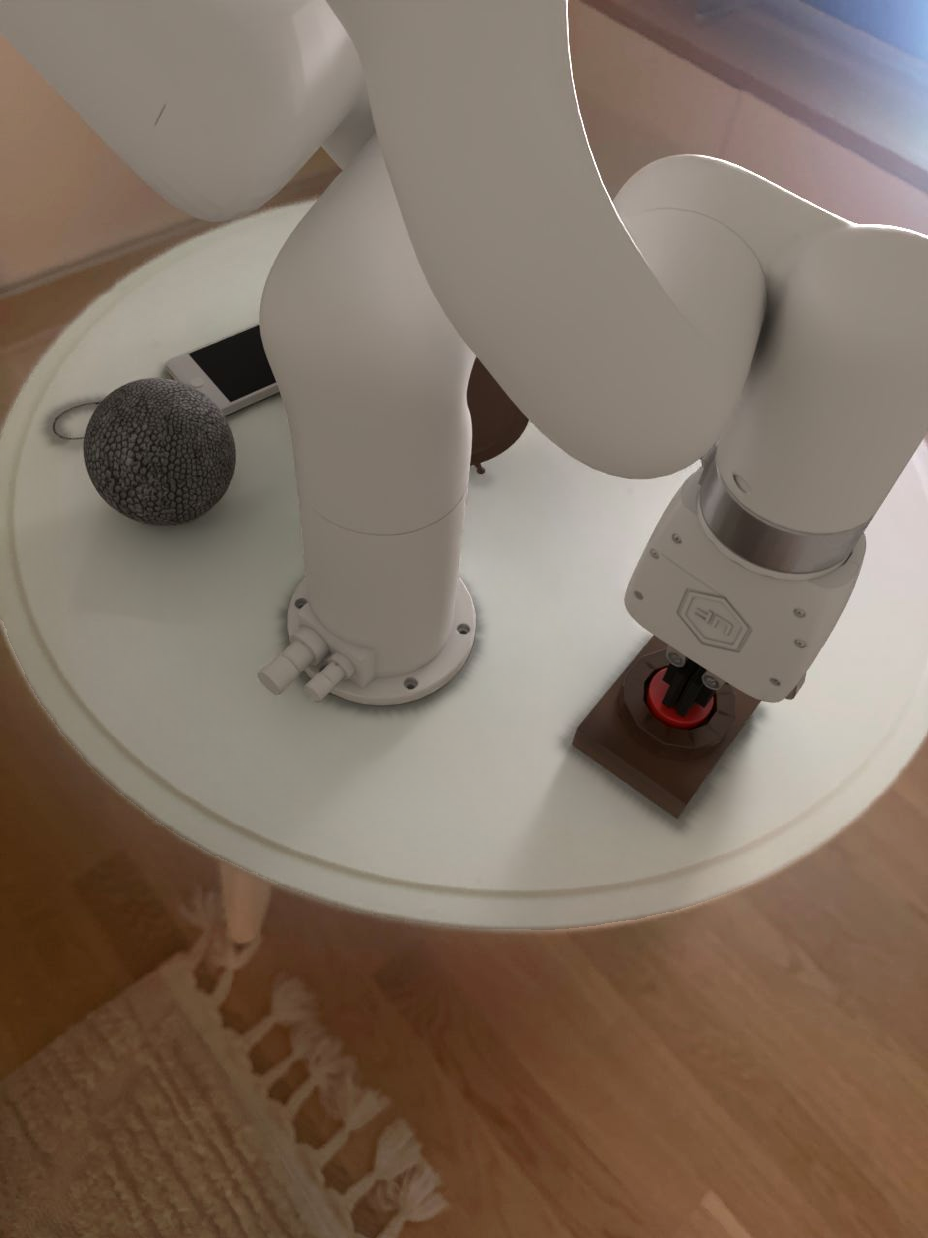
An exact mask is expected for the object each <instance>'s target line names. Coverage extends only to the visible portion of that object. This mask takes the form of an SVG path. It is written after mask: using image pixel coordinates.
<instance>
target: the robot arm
mask: <svg viewBox="0 0 928 1238" xmlns="http://www.w3.org/2000/svg"><path fill="white" fill-rule="evenodd" d="M568 3H569V0H0V35H1V36H2V37H3V38H4V39H5V40H6V41H7V42H8V43H9V44H10V45H11V46H12V48H14V49H15V51H16V52H17V53H19V55H21V56H22V58H23V59H24V60H25V61H26V62H27V63H28V64H29V65H30V66H31V67H32V68H33V69H34V70H35V72H37V73H38V74H39V76H40V77H42V78H43V79H44V81H45V82H46V83H47V84H48V85H49V86H50V87H51V88H52V89H53V90H54V91H55V92H56V93H57V95H59V96H60V97H61V98H62V99H63V101H65V102H66V104H68V106H69V107H70V108H71V109H72V110H73V111H74V112H75V113H76V114H77V115H78V116H79V117H80V118H81V119H82V120H83V122H84V123H86V124H87V126H88V127H89V128H91V130H92V131H93V132H94V133H95V134H96V135H97V136H98V137H99V138H100V139H101V141H102V142H103V143H105V145H107V146H108V148H109V149H111V150H112V152H113V153H115V155H116V156H117V157H118V158H119V159H120V160H121V161H122V162H123V163H124V164H125V165H126V166H127V167H128V168H129V169H130V170H131V171H132V172H134V174H135V175H137V176H138V178H140V179H141V180H142V182H143V183H145V185H147V186H148V187H149V188H151V190H153V191H154V192H155V193H156V194H157V195H159V197H161V198H162V199H163V200H164V201H166V202H167V203H168V204H169V205H171V206H173V207H174V209H175V208H176V209H177V210H179V211H181V212H183V213H184V214H185V215H188V216H190V217H192V218H195V219H198V220H202V221H206V222H211V223H220V222H229V221H234V220H238V219H240V218H243V217H245V216H247V215H249V214H251V213H253V212H254V211H257V210H259V209H260V208H261V207H262V206H264V205H265V204H266V203H267V202H269V201H270V200H272V198H274V197H275V196H277V195H278V194H279V193H280V191H281V190H282V189H283V188H285V186H287V184H289V183H290V181H291V180H292V179H293V178H294V177H296V175H297V174H298V173H299V172H300V170H301V169H302V168H303V167H304V166H306V164H307V163H308V161H309V160H310V159H311V158H312V157H313V156H314V155H315V154H316V152H317V151H318V150H320V148H322V149H323V150H324V151H325V153H326V154H327V155H328V156H329V157H330V158H331V160H332V161H334V163H335V164H336V165H337V167H339V168H340V169H341V172H339V173H338V175H336V177H334V179H333V180H332V181H331V182H330V183H329V184H328V186H327V187H326V188H325V189H324V191H323V192H322V193H321V195H320V196H319V197H318V198H317V200H316V201H315V202H314V203H313V204H312V206H310V208H309V210H308V211H307V212H306V213H305V214H304V216H303V217H302V218H301V219H300V221H298V223H297V225H296V226H295V228H293V230H292V231H291V233H290V234H289V236H287V239H286V240H285V242H284V243H283V245H282V246H281V248H280V250H279V251H278V254H277V256H276V258H275V259H274V262H273V264H272V265H271V267H270V269H269V272H268V274H267V277H266V280H265V283H264V285H263V289H262V293H261V298H260V303H259V312H258V316H259V317H258V323H259V325H260V334H261V339H262V343H263V347H264V351H265V353H266V356H267V359H268V362H269V364H270V367H271V370H272V372H273V375H274V377H275V380H276V382H277V385H278V388H279V391H280V392H279V393H280V396H281V399H282V403H283V407H284V411H285V415H286V420H287V426H288V429H289V436H290V443H291V452H292V460H293V470H294V478H295V483H296V489H297V490H296V492H297V502H298V511H299V521H300V530H301V541H302V550H303V560H304V568H305V575H304V577H302V579H301V580H300V582H298V584H297V585H296V588H295V590H294V592H293V594H292V596H291V598H290V601H289V605H288V610H287V634H288V640H289V645H288V646H287V647H286V648H285V649H284V650H283V651H282V652H280V653H278V654H277V655H276V656H274V657H273V658H272V659H271V660H270V661H269V662H268V663H267V664H266V665H265V666H263V667H262V668H261V669H260V670H259V671H258V672H257V673H256V674H257V679H258V680H259V682H260V683H261V684H262V685H263V687H264V688H265V689H266V690H268V691H269V692H270V693H271V694H273V695H275V696H280V695H281V694H282V693H283V692H284V691H285V690H286V689H288V688H289V687H290V686H291V685H292V684H293V683H295V681H296V680H297V679H298V678H300V675H301V673H303V672H304V673H305V674H306V675H307V676H308V677H309V678H310V680H309V681H308V682H307V683H306V684H305V685H304V686H303V689H304V692H305V693H306V695H307V697H309V698H310V699H311V700H313V701H314V702H316V703H320V702H322V701H323V699H324V698H325V697H327V696H328V695H329V693H330V694H332V695H335V696H337V697H339V698H342V699H344V700H346V701H350V702H354V703H358V704H362V705H371V706H391V705H401V704H405V703H410V702H413V701H417V700H420V699H423V698H424V697H427V696H428V695H431V694H433V693H435V692H437V691H438V690H440V689H441V688H442V687H444V686H445V685H446V684H448V683H449V682H450V681H451V680H452V679H454V677H455V676H456V675H457V674H458V673H459V672H460V671H461V669H462V668H463V666H464V665H465V663H466V661H467V660H468V658H469V656H470V653H471V650H472V648H473V645H474V642H475V635H476V630H477V629H476V628H477V625H476V624H477V623H476V621H477V620H476V619H477V618H476V615H477V614H476V609H475V605H474V601H473V598H472V596H471V594H470V592H469V590H468V587H467V586H466V584H465V583H464V581H462V579H461V577H460V576H459V572H460V562H461V554H462V547H463V546H462V544H463V536H464V528H465V520H466V519H465V518H466V509H467V502H468V491H469V482H470V481H469V480H470V468H471V466H470V460H471V449H472V423H471V416H470V412H469V409H468V406H467V387H468V381H469V378H470V374H471V370H472V367H473V364H474V361H475V358H476V356H477V358H478V359H479V360H480V361H481V363H482V364H483V365H484V366H485V368H486V369H487V370H488V371H489V373H490V374H491V375H492V376H493V378H494V379H495V380H496V381H497V383H498V384H499V385H500V386H501V388H502V389H503V390H504V391H505V393H506V394H507V395H508V396H509V398H510V399H511V400H512V401H513V402H514V404H515V405H516V406H517V407H518V408H519V409H520V411H521V412H522V413H523V414H524V415H525V416H526V417H527V418H528V419H529V422H531V423H532V424H533V426H535V428H537V430H538V431H539V433H541V434H542V435H543V436H545V437H546V438H547V439H548V440H549V441H550V442H551V443H552V444H553V445H555V446H557V447H558V448H559V449H560V450H562V451H563V452H564V453H566V454H567V455H568V456H570V457H571V458H573V459H574V460H576V461H578V462H580V463H582V464H583V465H585V466H587V467H588V468H590V469H593V470H595V471H598V472H601V473H604V474H606V475H609V476H612V477H616V478H617V477H618V478H622V479H628V480H652V479H657V478H663V477H668V476H671V475H673V474H675V473H678V472H681V471H683V470H685V469H687V468H688V467H690V466H692V465H694V463H696V462H698V461H699V460H700V461H701V462H700V463H701V466H700V467H699V468H698V469H696V471H694V472H693V473H692V474H690V475H689V476H688V478H686V479H685V481H684V482H683V483H682V484H681V485H680V486H679V488H678V490H677V491H676V492H675V494H674V495H673V496H672V498H671V500H670V501H669V503H668V505H667V506H666V508H665V509H664V511H663V512H662V515H661V517H660V518H659V520H658V522H657V524H656V526H655V528H654V529H653V531H652V533H651V535H650V537H649V539H648V541H647V542H646V545H645V547H644V550H642V551H643V552H642V553H641V555H640V558H639V560H638V561H637V563H636V566H635V567H634V570H633V572H632V574H631V577H630V579H629V582H628V584H627V587H626V589H625V594H624V598H623V599H624V600H623V601H624V602H623V603H624V607H625V609H626V612H627V613H628V615H629V616H631V618H632V620H634V621H635V622H636V623H637V624H638V625H640V626H641V627H642V628H643V629H644V630H646V631H647V632H649V633H650V634H651V635H652V636H653V635H655V636H656V637H658V638H659V639H661V640H662V641H664V642H665V643H667V645H668V647H667V652H666V657H667V660H668V661H669V662H670V664H669V666H668V668H667V670H666V672H665V675H664V677H663V679H662V680H663V681H664V682H666V683H667V684H669V685H670V686H669V688H668V690H667V692H666V694H665V696H664V698H663V701H662V704H663V705H665V706H666V707H668V708H669V707H672V708H673V707H674V706H675V704H676V703H677V702H678V700H679V699H680V700H679V702H678V704H677V706H676V708H675V710H676V711H677V712H676V713H677V714H678V715H680V716H681V717H683V718H684V717H685V715H686V714H687V713H688V711H689V710H690V709H691V707H692V706H693V705H694V703H695V702H696V703H697V704H699V705H700V706H702V707H703V708H705V707H706V705H707V704H708V703H709V701H710V700H711V699H712V697H713V696H714V694H715V693H716V691H717V690H719V689H720V688H721V687H722V686H723V685H724V684H730V685H732V686H734V687H735V688H737V689H738V690H740V691H742V692H744V693H745V694H747V695H749V696H751V697H753V698H756V699H758V700H761V701H762V702H765V703H774V704H775V703H780V702H782V701H784V700H787V701H790V700H791V701H792V700H794V699H795V697H796V695H797V694H799V691H800V690H801V689H802V687H803V686H804V684H805V682H806V676H807V672H808V670H809V669H810V668H811V667H812V665H813V664H814V662H815V660H816V658H817V657H818V655H819V653H820V652H821V650H822V649H823V647H824V646H825V644H826V643H827V641H828V639H829V637H831V634H832V633H833V631H834V629H835V628H836V626H837V624H838V622H839V620H840V618H841V617H842V614H843V612H844V610H845V609H846V606H847V604H848V602H849V600H850V599H851V595H852V594H853V591H854V589H855V587H856V584H857V581H858V578H859V576H860V573H861V570H862V567H863V564H864V559H865V555H866V550H867V536H866V534H865V532H866V530H867V528H868V527H869V525H870V523H871V522H872V520H873V519H874V517H875V515H876V514H877V513H878V511H879V509H880V508H881V506H882V505H883V503H884V501H885V500H886V499H887V497H888V495H889V494H890V492H891V491H892V489H893V488H894V486H895V484H896V483H897V481H898V479H899V478H900V476H901V475H902V474H903V471H904V470H905V468H906V467H907V465H908V464H909V463H910V461H911V459H912V458H913V456H914V454H915V453H916V451H917V450H918V448H919V446H920V445H921V443H922V442H923V441H924V439H925V437H926V435H927V434H928V235H925V234H923V233H920V232H917V231H914V230H911V229H906V228H904V227H903V228H902V227H898V226H893V225H886V224H858V223H854V222H852V221H851V220H847V219H845V218H843V217H841V216H839V215H837V214H834V213H832V212H830V211H828V210H826V209H824V208H822V207H820V206H818V205H816V204H814V203H812V202H811V201H808V200H806V199H805V198H802V197H800V196H798V195H796V194H795V193H793V192H791V191H789V190H787V189H785V188H783V187H782V186H780V185H778V184H776V183H774V182H772V181H770V180H769V179H766V178H765V177H762V176H761V175H758V174H757V173H754V172H753V171H751V170H748V169H746V168H744V167H742V166H739V165H737V164H735V163H732V162H729V161H727V160H724V159H721V158H716V157H713V156H709V155H704V154H690V153H682V154H675V155H668V156H665V157H662V158H659V159H656V160H654V161H651V162H650V163H648V164H646V165H645V166H643V167H642V168H640V169H638V170H637V171H636V172H634V173H633V175H632V176H631V177H629V178H628V179H627V181H625V182H624V184H623V185H622V187H621V188H620V190H619V191H618V192H617V194H616V195H615V197H614V198H613V200H612V199H611V197H610V195H609V192H608V191H607V188H606V186H605V184H604V181H603V180H602V177H601V174H600V171H599V169H598V166H597V163H596V161H595V158H594V155H593V152H592V150H591V147H590V144H589V140H588V137H587V134H586V130H585V126H584V123H583V119H582V116H581V112H580V107H579V102H578V98H577V93H576V92H577V91H576V89H575V82H574V78H573V76H574V75H573V68H572V60H571V51H570V50H571V49H570V42H569V41H570V39H569V38H570V37H569V17H568V16H569V15H568Z"/></svg>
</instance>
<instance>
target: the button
mask: <svg viewBox="0 0 928 1238" xmlns="http://www.w3.org/2000/svg"><path fill="white" fill-rule="evenodd" d="M666 670H667V668H665V669H663V670H661V671H659V672H658V673H657V674H656V675H655V676H654V677H653V678H652V680H651V682H650V684H649V687H648V689H647V691H646V693H645V696H644V702H645V703H646V705H647V707H648V709H649V711H650V712H651V714H652V716H654V717H655V718H657V719H658V720H659V721H661V722H662V723H664V724H665V725H667V726H668V727H670V728H677V729H683V730H689V731H690V730H693V729H695V728H698V727H701V726H702V725H703V723H704V722H705V720H706V718H707V716H708V715H709V713H710V711H711V709H712V707H713V697H712V699H711V700H710V701H709V703H708V704H707V705H706V707H705V708H703V707H702V706H700V705H699V704H697V703H696V702H695V703H694V705H693V706H692V707H691V709H690V710H689V711H688V713H687V714H686V715H685V717H684V718H683V717H681V716H680V715H678V714H677V713H676V712H677V711H676V710H675V708H676V706H677V704H678V702H679V700H680V699H679V700H678V702H677V703H676V704H675V706H674V707H673V708H672V707H669V708H668V707H666V706H665V705H663V704H662V701H663V698H664V696H665V694H666V692H667V690H668V688H669V686H670V685H669V684H667V683H666V682H664V681H663V680H662V679H663V677H664V675H665V672H666Z"/></svg>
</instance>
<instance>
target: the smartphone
mask: <svg viewBox="0 0 928 1238" xmlns="http://www.w3.org/2000/svg"><path fill="white" fill-rule="evenodd" d="M165 366H166V371H167V373H168V374H169V375H170V376H171V377H172V379H173V380H176V381H179V382H182V383H185V384H187V385H190V386H192V387H194V388H195V389H197V390H199V391H200V392H202V393H203V394H205V395H206V396H207V397H208V398H210V399H211V400H212V401H213V402H214V403H215V404H216V405H217V406H218V408H219V409H220V410H221V411H222V413H223V415H224V416H225V417H226V416H227V415H230V414H233V413H234V412H237V411H239V410H241V409H244V408H246V407H248V406H251V405H253V404H255V403H257V402H259V401H261V400H264V399H266V398H269V397H271V396H272V395H274V394H277V393H280V391H279V388H278V385H277V382H276V380H275V377H274V375H273V372H272V370H271V367H270V364H269V362H268V359H267V356H266V353H265V351H264V347H263V343H262V339H261V334H260V325H259V322H258V323H255V324H253V325H250V326H248V327H245V328H243V329H240V330H238V331H235V332H233V333H231V334H229V335H226V336H224V337H221V338H218V339H216V340H213V341H211V342H208V343H207V344H204V345H202V346H199V347H197V348H194V349H192V350H189V351H187V352H185V353H182V354H180V355H177V356H175V357H173V358H170V359H169V360H167V361H166V362H165Z"/></svg>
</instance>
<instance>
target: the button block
mask: <svg viewBox="0 0 928 1238" xmlns="http://www.w3.org/2000/svg"><path fill="white" fill-rule="evenodd" d="M667 647H668V645H667V643H665V642H664V641H662V640H661V639H659V638H658V637H656V636H655V635H653V634H652V636H651V637H650V639H649V640H648V641H647V642H646V644H645V645H644V646H643V648H642V649H641V650H640V651H639V652H638V653H637V655H636V656H635V657H634V658H633V660H631V662H630V663H629V664H628V665H627V667H626V668H625V669H624V670H623V672H621V674H620V675H619V676H618V678H617V679H616V680H615V681H614V683H613V684H612V685H611V686H610V687H609V689H608V690H607V691H606V692H605V694H604V695H603V696H602V697H601V699H600V700H598V702H597V703H596V704H595V706H594V707H593V708H592V709H591V710H590V712H589V713H588V714H587V715H586V716H585V718H584V719H583V720H582V722H581V723H580V724H579V725H578V726H577V727H576V730H575V733H574V736H573V739H572V742H571V745H572V746H574V747H575V748H577V749H578V750H579V751H581V752H582V753H583V754H585V755H586V756H588V757H589V758H590V759H592V760H594V761H595V762H596V763H597V764H599V765H600V766H602V767H603V768H605V769H606V770H607V771H608V772H611V774H613V775H615V776H616V777H617V778H619V779H620V780H621V781H623V782H625V783H626V784H627V785H629V786H630V787H632V788H633V789H634V790H636V791H638V793H640V794H641V795H642V796H645V798H647V799H649V800H650V801H651V802H653V803H654V804H655V805H657V806H658V807H659V808H661V809H662V810H664V811H665V812H667V813H668V814H670V815H671V816H672V817H674V818H675V819H677V820H679V819H680V817H681V816H682V815H683V813H684V812H685V810H686V809H687V808H688V806H689V804H690V803H691V802H692V801H693V799H694V798H695V796H696V794H697V793H698V792H699V790H700V789H701V787H702V786H703V785H704V784H705V782H706V780H707V779H708V778H709V776H710V775H711V773H712V772H713V771H714V769H715V768H716V766H717V765H718V764H719V762H720V761H721V759H722V757H724V755H725V754H726V752H727V751H728V749H729V748H730V746H731V745H732V743H733V742H734V741H735V739H736V738H737V736H738V735H739V734H740V732H741V731H742V729H743V728H744V727H745V725H746V724H747V722H748V721H749V719H750V718H751V717H752V715H753V714H754V712H755V711H756V710H757V708H758V706H759V705H760V703H761V700H758V699H756V698H753V697H751V696H749V695H747V694H745V693H744V692H742V691H740V690H738V689H737V688H735V687H734V686H732V685H730V684H724V685H723V686H722V687H721V688H720V689H719V690H717V691H716V693H715V694H714V696H713V707H712V709H711V711H710V713H709V715H708V716H707V718H706V720H705V722H704V723H703V725H702V726H701V727H698V728H695V729H693V730H690V731H689V730H683V729H677V728H670V727H668V726H667V725H665V724H664V723H662V722H661V721H659V720H658V719H657V718H655V717H654V716H652V714H651V712H650V711H649V709H648V707H647V705H646V703H645V702H644V696H645V693H646V691H647V689H648V687H649V684H650V682H651V680H652V678H653V677H654V676H655V675H656V674H657V673H658V672H659V671H661V670H663V669H665V668H668V666H669V664H670V662H669V661H668V660H667V657H666V652H667Z"/></svg>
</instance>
